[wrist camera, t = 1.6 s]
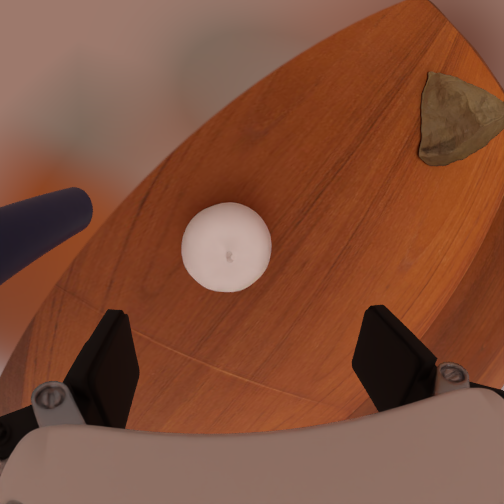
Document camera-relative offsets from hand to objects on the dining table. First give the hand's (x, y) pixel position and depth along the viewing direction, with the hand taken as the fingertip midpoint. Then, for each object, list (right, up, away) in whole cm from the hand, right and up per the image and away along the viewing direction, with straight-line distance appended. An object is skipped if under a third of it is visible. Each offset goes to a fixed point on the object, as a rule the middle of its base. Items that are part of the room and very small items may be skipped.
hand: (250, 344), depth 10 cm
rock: (+20, +18, +14) cm, 31 cm away
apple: (-2, +5, +16) cm, 17 cm away
